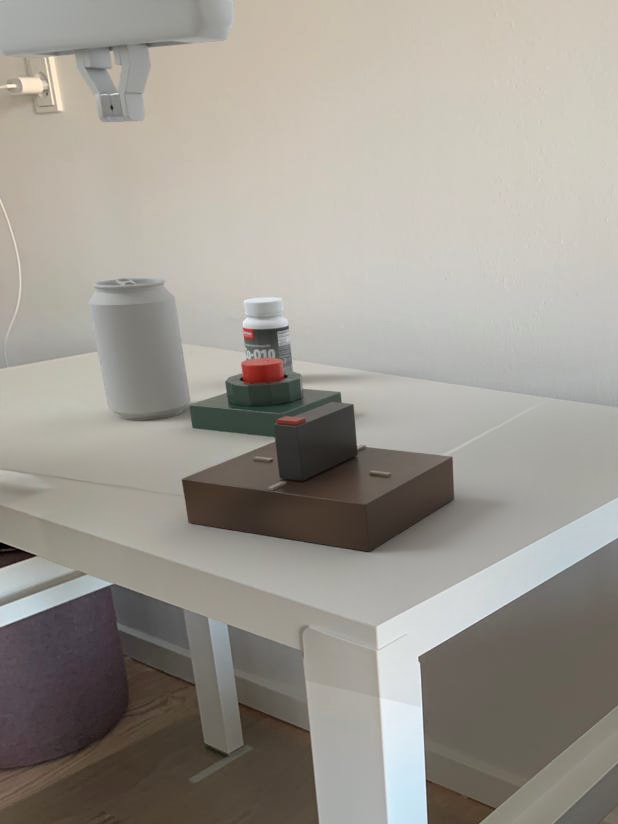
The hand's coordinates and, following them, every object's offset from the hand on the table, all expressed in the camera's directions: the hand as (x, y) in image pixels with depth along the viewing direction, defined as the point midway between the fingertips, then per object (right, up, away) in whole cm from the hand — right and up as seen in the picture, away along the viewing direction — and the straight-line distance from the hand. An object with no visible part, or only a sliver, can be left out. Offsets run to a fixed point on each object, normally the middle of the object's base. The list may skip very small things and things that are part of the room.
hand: (122, 121), depth 74 cm
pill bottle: (+4, -11, +33) cm, 35 cm away
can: (-5, -17, +21) cm, 27 cm away
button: (+7, -15, +15) cm, 23 cm away
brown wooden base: (+16, -29, -6) cm, 34 cm away
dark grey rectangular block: (+16, -27, -8) cm, 32 cm away
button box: (+7, -19, +17) cm, 26 cm away
